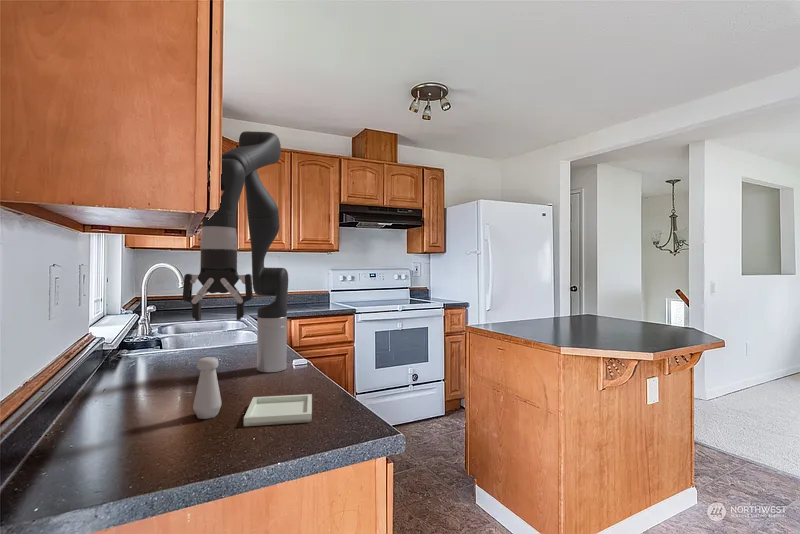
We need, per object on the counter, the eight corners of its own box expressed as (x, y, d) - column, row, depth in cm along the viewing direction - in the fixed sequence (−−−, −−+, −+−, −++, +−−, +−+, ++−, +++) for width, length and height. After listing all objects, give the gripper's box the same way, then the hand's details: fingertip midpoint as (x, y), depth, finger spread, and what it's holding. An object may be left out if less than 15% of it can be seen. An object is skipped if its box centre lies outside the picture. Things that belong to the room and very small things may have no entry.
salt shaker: (210, 421, 90) (210, 361, 90) (187, 419, 91) (187, 360, 91) (226, 412, 95) (227, 356, 95) (204, 410, 96) (205, 354, 96)
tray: (253, 404, 101) (253, 397, 101) (311, 401, 104) (311, 394, 104) (243, 426, 87) (243, 417, 87) (311, 421, 90) (311, 413, 90)
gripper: (254, 249, 98) (253, 317, 98) (189, 248, 95) (188, 318, 95) (250, 248, 91) (249, 321, 91) (179, 246, 88) (178, 323, 88)
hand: (218, 320), depth 93 cm, fingers open, 8 cm apart
